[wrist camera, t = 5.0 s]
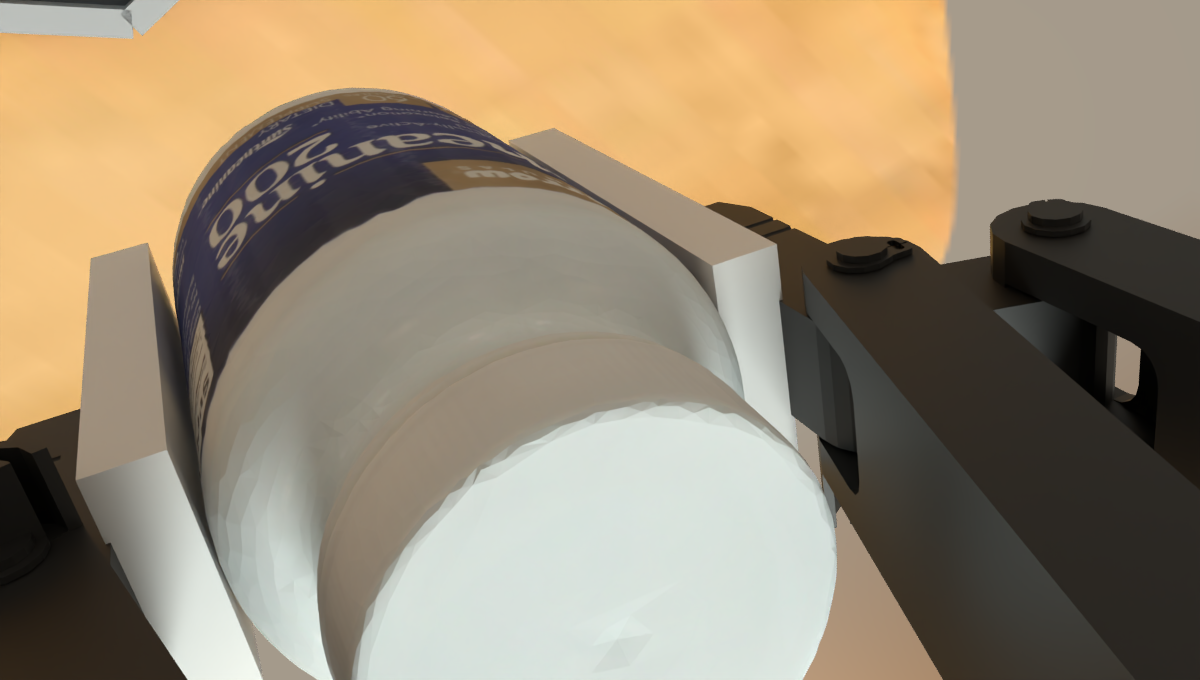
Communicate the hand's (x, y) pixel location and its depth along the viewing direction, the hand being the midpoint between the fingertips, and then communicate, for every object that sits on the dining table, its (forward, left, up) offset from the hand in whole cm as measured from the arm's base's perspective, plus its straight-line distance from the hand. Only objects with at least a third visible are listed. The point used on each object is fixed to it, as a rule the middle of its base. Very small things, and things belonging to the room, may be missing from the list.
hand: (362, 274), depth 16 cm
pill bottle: (0, 0, -1) cm, 1 cm away
